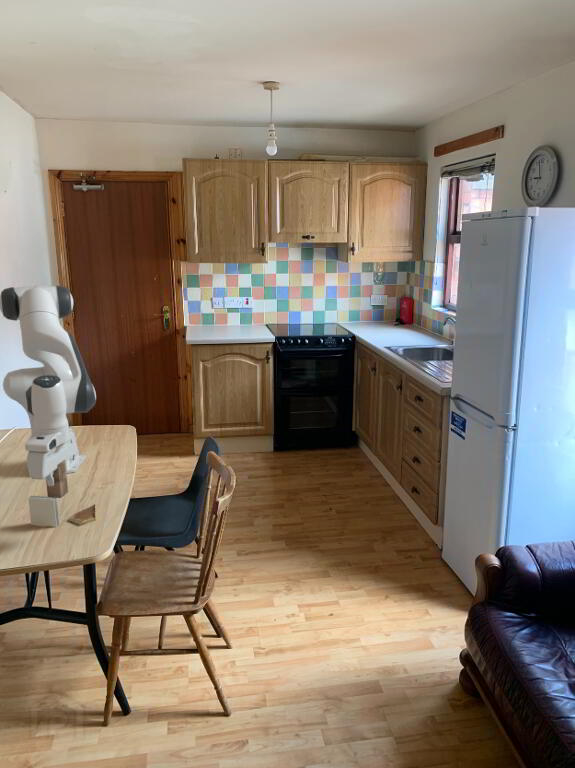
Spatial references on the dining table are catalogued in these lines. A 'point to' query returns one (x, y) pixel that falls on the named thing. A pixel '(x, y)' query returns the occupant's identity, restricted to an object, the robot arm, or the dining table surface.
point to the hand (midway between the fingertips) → (56, 481)
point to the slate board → (43, 511)
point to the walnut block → (58, 482)
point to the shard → (84, 516)
